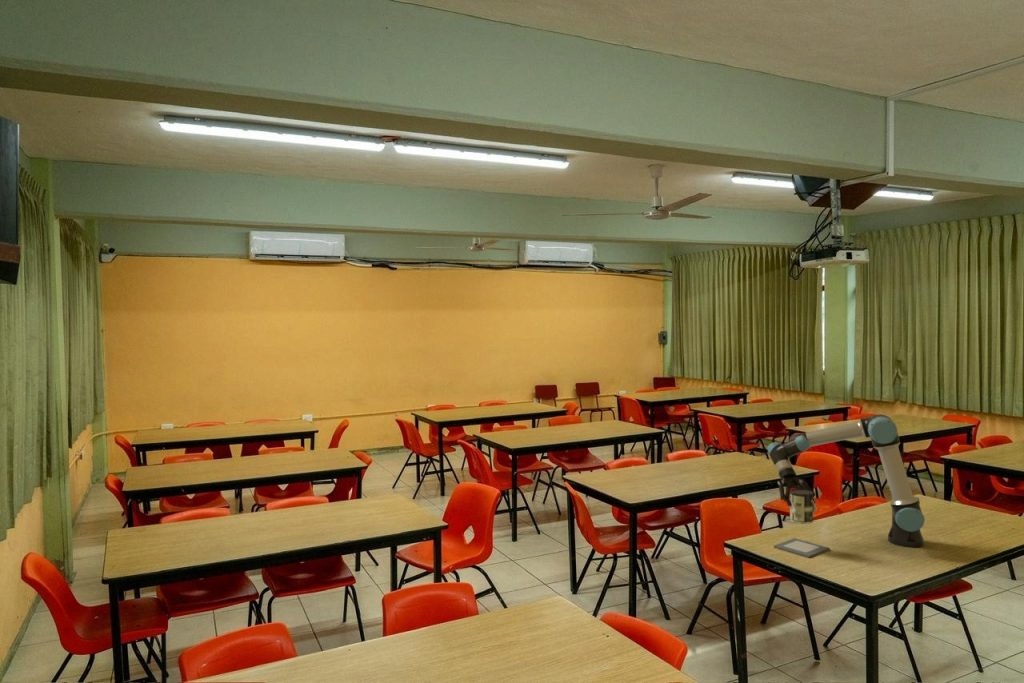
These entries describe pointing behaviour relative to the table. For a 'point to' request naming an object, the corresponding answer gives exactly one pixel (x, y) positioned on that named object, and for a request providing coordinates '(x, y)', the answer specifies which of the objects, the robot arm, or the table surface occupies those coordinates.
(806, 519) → the coffee can
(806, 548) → the mat
